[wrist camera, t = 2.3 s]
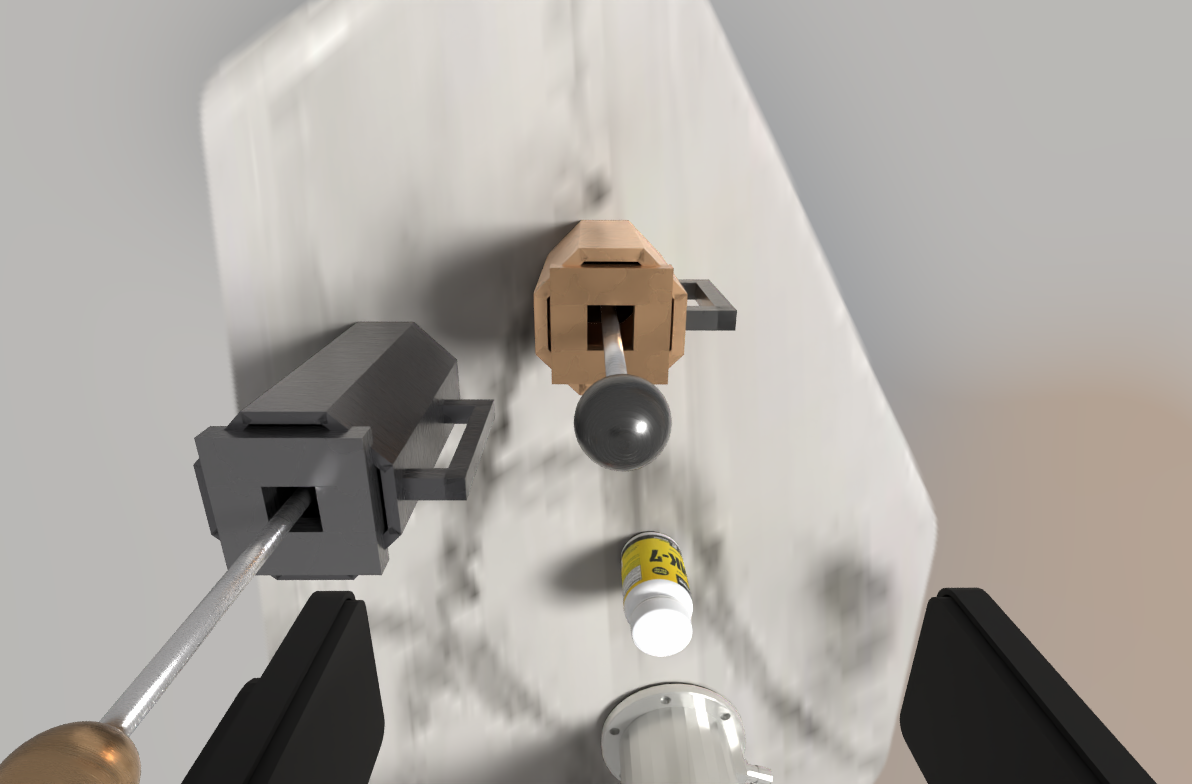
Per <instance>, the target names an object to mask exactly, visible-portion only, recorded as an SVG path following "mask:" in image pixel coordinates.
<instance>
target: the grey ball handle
mask: <svg viewBox="0 0 1192 784" xmlns="http://www.w3.org/2000/svg"><path fill="white" fill-rule="evenodd" d="M600 307H601V320H602V333H603V345H604V358H605V371H606V377H604V378H602V379H600V380H598V381H596V382H595V383H593V384H592V385H591V386H590V387H589V388H588V389H587V390H586V391H585V392H584V394H583V395H582V397H581V398H580V400H579V402H578V404H577V407H576V411H575V416H574V429H575V434H576V438H577V440H578V443H579V445H580V447H581V449H582V450H583V451H584V453H585V454H586V455H587V456H588V457H589V458H590V459H591V460H592V461H593V462H595V463H596V464H598V465H600V466H602V467H604V468H607V469H610V470H614V471H632V470H636V469H639V468H642V467H644V466H646V465H648V464H649V463H651V462H652V461H653V460H655V459H656V458H657V457H658V456H659V455H660V454H661V452H662V451H663V449H664V448H665V446H666V444H667V442H668V440H669V437H670V433H671V426H672V420H671V413H670V409H669V406H668V403H667V401H666V399H665V397H664V396H663V394H662V393H661V392H660V391H659V389H658V388H657V387H655V386H654V385H653V384H652V383H651V382H649V381H647V380H646V379H644V378H641V377H639V376H636V375H631V374H627V369H626V363H625V358H624V352H623V346H622V340H621V335H620V329H619V323H618V317H617V312H616V306H615V305H600Z"/></svg>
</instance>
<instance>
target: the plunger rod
mask: <svg viewBox="0 0 1192 784" xmlns="http://www.w3.org/2000/svg"><path fill="white" fill-rule="evenodd" d="M316 496H317V495H316V489H315V487H298V488H297V489H296V490H295V492H294V493H293V494H292V495H291V496H290V498H289V499H288V500H287V501H286V502H285V503H284V505H283V506H282V507H281V508H280V509H279V511H278V512H277V513H276V514H275V515H274V516H273V518H272V519H271V520H270V521H269V522H268V523H267V525H266V526H265V527H264V528H263V529H262V531H261V532H260V533H259V534H258V535H257V536H256V538H255V539H254V540H253V541H252V542H251V544H250V545H249V546H248V547H247V548H246V549H245V551H244V552H243V553H242V554H241V555H240V556H239V558H238V559H237V560H236V561H235V562H234V564H233V565H232V566H231V567H230V568H229V569H228V571H227V572H226V573H225V574H224V575H223V577H222V578H221V579H220V580H219V581H218V582H217V584H216V585H215V586H214V587H213V588H212V589H211V591H210V592H209V593H208V594H207V596H206V597H205V598H204V599H203V600H202V601H201V602H200V604H199V605H198V606H197V607H196V608H195V610H194V611H193V612H192V613H191V614H190V615H189V617H188V618H187V619H186V620H185V621H184V623H183V624H182V625H181V626H180V627H179V628H178V630H177V631H176V632H175V633H174V634H173V635H172V637H171V638H170V639H169V640H168V641H167V643H166V644H165V645H164V646H163V647H162V648H161V650H160V651H159V652H158V653H157V654H156V656H155V657H154V658H153V659H152V660H151V661H150V662H149V664H148V665H147V666H146V667H145V668H144V670H143V671H142V672H141V673H140V674H139V676H138V677H137V678H136V679H135V680H134V681H133V683H132V684H131V685H130V686H129V687H128V688H127V690H126V691H125V692H124V693H123V694H122V696H121V697H120V698H119V699H118V700H117V701H116V703H115V704H114V705H113V706H112V707H111V708H110V710H109V711H108V712H107V713H106V714H105V715H104V717H103V718H102V719H101V720H100V721H99V722H92V721H85V722H84V721H82V722H73V723H68V724H63V725H60V726H57V727H54V728H51V729H49V730H47V731H45V732H42V733H40V734H38V735H36V736H35V737H33V738H31V739H30V740H28V741H27V742H25V743H23V744H22V745H21V746H19V747H18V748H17V749H16V750H15V751H13V752H12V753H11V754H10V755H9V756H8V757H7V758H6V759H5V760H4V761H3V762H2V763H1V764H0V784H139V783H140V775H141V764H140V758H139V754H138V751H137V749H136V747H135V745H134V743H133V742H132V740H131V739H130V738H129V736H130V735H131V734H132V732H133V731H134V730H135V729H136V728H137V726H138V725H139V724H140V722H141V721H142V720H143V719H144V717H145V716H146V715H147V713H148V712H149V711H150V709H151V708H152V707H153V706H154V704H155V703H156V702H157V700H158V699H159V698H160V696H161V695H162V694H163V693H164V691H165V690H166V689H167V688H168V686H169V685H170V684H171V682H172V681H173V680H174V679H175V677H176V676H177V675H178V673H179V672H180V671H181V670H182V668H183V667H184V666H185V664H186V663H187V662H188V660H189V659H190V658H191V657H192V655H193V654H194V653H195V652H196V650H197V649H198V648H199V646H200V645H201V644H202V642H203V641H204V640H205V639H206V637H207V636H208V634H209V633H210V632H211V631H212V630H213V628H214V627H215V626H216V624H217V623H218V622H219V621H220V619H221V618H222V617H223V615H224V614H225V613H226V611H227V610H228V609H229V608H230V606H231V605H232V604H233V602H234V601H235V600H236V599H237V597H238V596H239V595H240V594H241V592H242V591H243V590H244V588H245V587H246V586H247V585H248V583H249V582H250V581H251V579H252V578H253V577H254V576H255V574H256V573H257V572H258V570H259V569H260V568H261V566H262V565H263V564H264V563H265V561H266V560H267V559H268V557H269V556H270V555H271V554H272V552H273V551H274V550H275V548H276V547H277V546H278V545H279V543H280V542H281V541H282V539H283V538H284V537H285V536H286V534H287V533H288V532H289V530H290V529H291V528H292V527H293V525H294V524H295V523H296V521H297V520H298V519H299V518H300V516H301V515H302V514H303V512H304V511H305V510H306V509H307V507H308V506H309V505H310V503H311V502H312V501H313V500H314V498H315V497H316Z"/></svg>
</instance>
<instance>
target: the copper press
mask: <svg viewBox="0 0 1192 784" xmlns="http://www.w3.org/2000/svg"><path fill="white" fill-rule="evenodd" d="M584 261H623V262H639V263H640V264H582V263H583V262H584ZM673 271H674V268H673V267H672V265H668V264H667V263H666V261H665V260H664V258H663V257H662V255H661V254H660V253H659V252H658V251H657V250H656V249H655V248H654V247H653V246H652V245H651V244H650V243H649V242H648V241H647V239H646V238H645V237H644V236H643V235H642V234H641V233H640V232H639V231H638V230H637V229H636V228H635V227H634V226H633V225H632V223H631V222H630V221H629V220H581V221H580V222H579V223H578V224H577V225H576V226H575V227H574V228H573V229H572V230H571V231H570V232H569V233H568V234H567V235H566V236H565V237H564V238H563V240H562V241H561V242H560V243H559V244H558V245H557V246H556V247H555V248H554V249H553V250H552V251H551V252H550V253H549V254H548V256H547V259H546V261H545V264H544V267H543V270H542V272H541V275H540V278H539V280H538V283H537V286H536V289H535V291H534V319H535V353H536V355H537V356H538V357H539V358H540V359H541V360H542V361H543V362H544V363H545V364H547V365H548V366H549V367H550V368H551V369H552V384H568V385H569V386H570V387H571V388H572V389H573V390H575V391H576V392H577V393H578V394H579V395H583V394H584V392H585V391H586V390H587V389H588V388H589V387H590V386H591V385H592V384H593V383H595V382H596V381H598V380H600V379H602V378H604V377H606V371H605V358H604V345H603V333H602V323H587V305H633V313H632V314H631V315H630V316H629V317H628V318H627V319H626V320H625V321H624V322H623V323H619V329H620V335H621V340H622V346H623V352H624V358H625V363H626V369H627V374H631V375H636V376H639V377H641V378H644V379H646V380H647V381H649V382H651V383H652V384H668V368H670V367H671V366H672V365H673V364H674V363H675V362H676V361H677V360H679V359H680V358H681V357H682V356H683V355H684V344H685V330H735V326H736V315H737V310H736V309H735V308H734V307H733V306H732V305H731V304H730V302H729V301H728V300H727V299H726V298H725V297H724V296H723V295H722V294H721V293H720V291H719V290H718V289H717V288H716V287H715V286H714V285H713V284H712V283H711V282H710V280H678V279H677V278H676V276H675V275H674V273H673ZM687 299H695V300H696V301H697V303H698V304H699V306H687Z"/></svg>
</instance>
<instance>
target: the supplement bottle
mask: <svg viewBox="0 0 1192 784" xmlns="http://www.w3.org/2000/svg"><path fill="white" fill-rule="evenodd" d="M621 575H622V589H623V604H624V613H625V617H626V619H627V621H628V623H629V624H630V627H631V633H632V639H633V641H634V643H635V645H636V646H637V647H638V648H639V649H640V650H641V651H643V652H644V653H646V654H649V655H652V656H659V657H663V656H670V655H673V654H676V653H678V652H679V651H681V650H682V649H684V648H685V647H686V646H687V645H688V643H689V641H690V640H691V637H692V625H691V616H692V611H693V603H692V598H691V594H690V589H689V585H688V580H687V576H686V571H685V567H684V563H683V558H682V554H681V550H680V548H679V546H678V545H677V543H676V542H675V541H674V540H673V539H672V538H670V537H668V536H667V535H664V534H661V533H657V532H645V533H642V534H639V535H636V536H635V537H633V538H632V539H630V540H629V541H628V542H627V543H626V545H625V546H624V548H623V550H622V553H621Z"/></svg>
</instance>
